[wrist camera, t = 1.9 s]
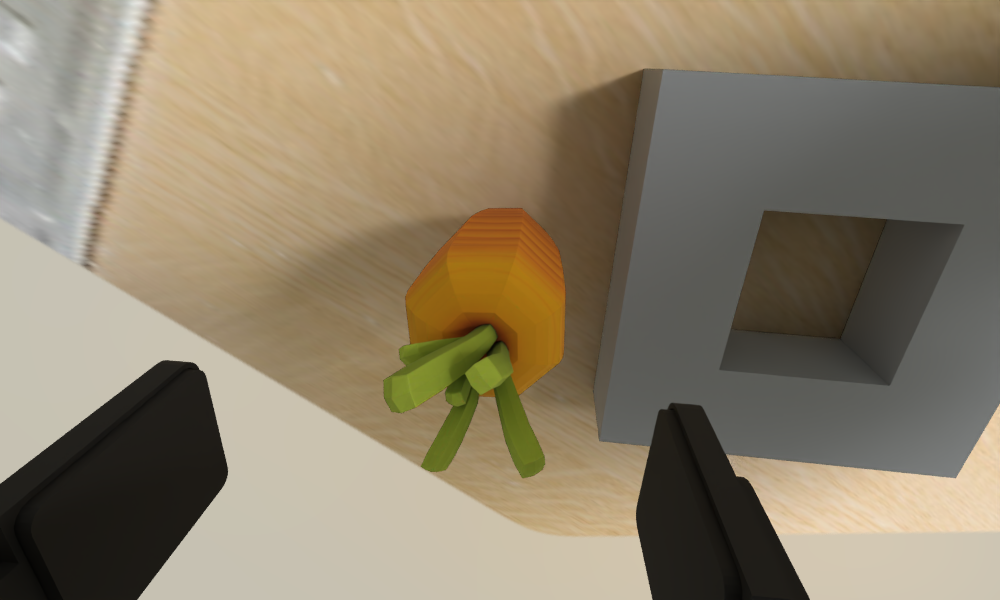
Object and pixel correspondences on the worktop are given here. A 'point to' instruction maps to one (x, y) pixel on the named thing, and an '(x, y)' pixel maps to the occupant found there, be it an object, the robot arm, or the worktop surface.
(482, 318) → the carrot
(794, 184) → the socket block
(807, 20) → the worktop surface
